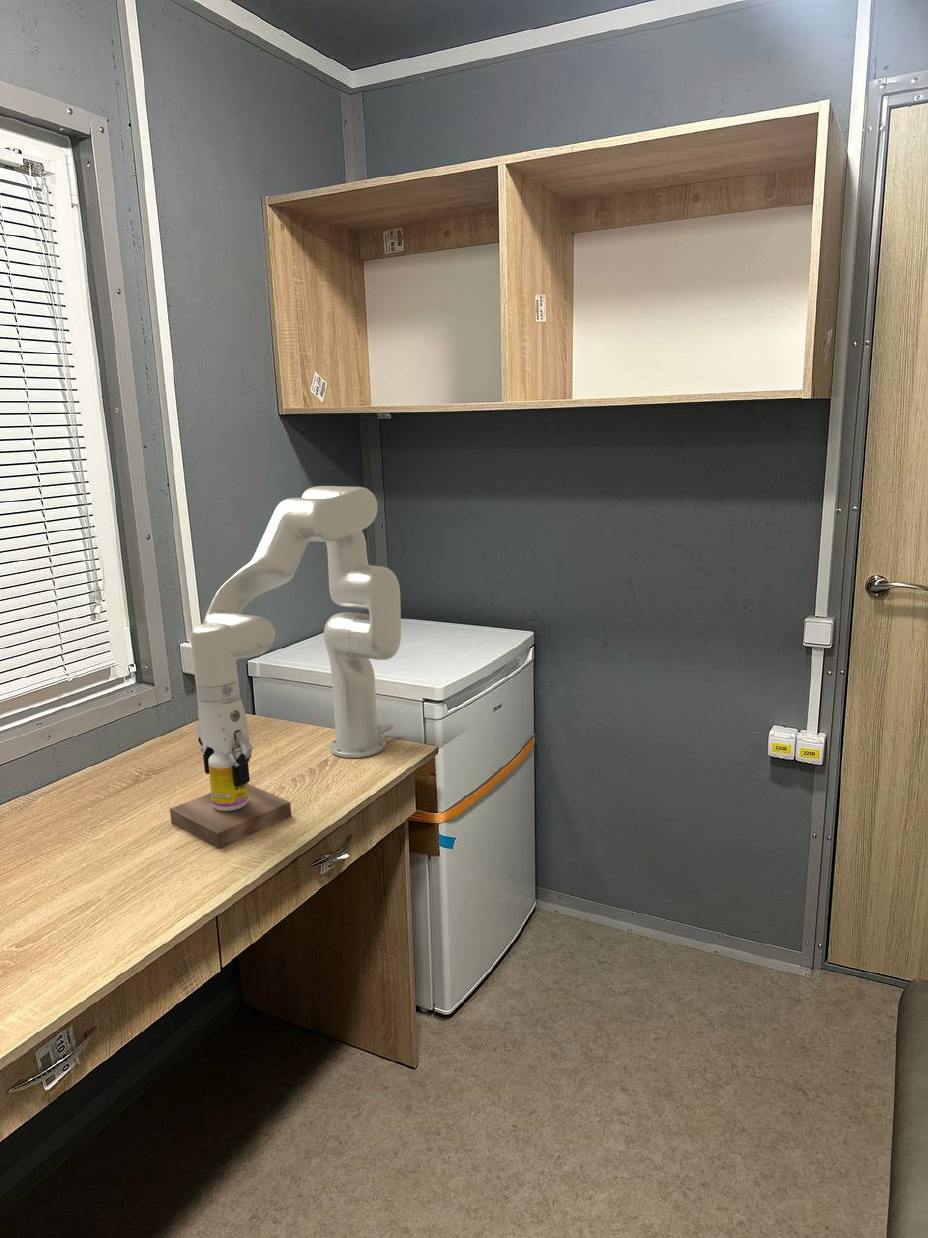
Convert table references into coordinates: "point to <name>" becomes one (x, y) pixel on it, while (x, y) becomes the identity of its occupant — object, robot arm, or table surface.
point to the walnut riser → (230, 817)
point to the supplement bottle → (225, 783)
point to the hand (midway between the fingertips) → (227, 777)
